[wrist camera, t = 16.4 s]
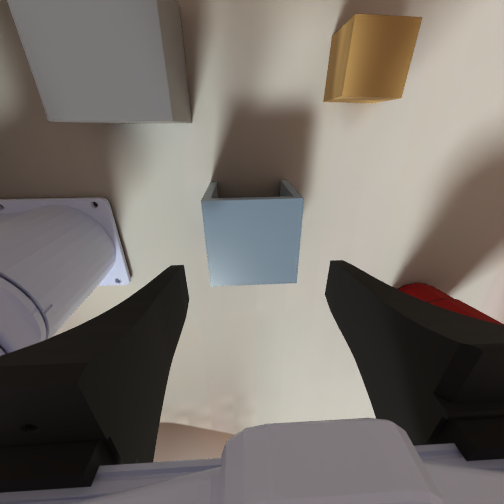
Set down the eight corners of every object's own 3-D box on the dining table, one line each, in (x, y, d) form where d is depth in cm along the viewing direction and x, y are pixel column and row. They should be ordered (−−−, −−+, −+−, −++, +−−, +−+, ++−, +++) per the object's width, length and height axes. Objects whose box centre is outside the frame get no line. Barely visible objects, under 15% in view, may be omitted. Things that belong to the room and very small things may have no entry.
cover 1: (104, 123, 17) (48, 121, 12) (74, 5, 14) (-14, -60, 9) (191, 122, 17) (173, 120, 12) (179, 7, 14) (148, -57, 9)
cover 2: (216, 250, 22) (210, 286, 17) (210, 182, 19) (201, 200, 14) (283, 248, 22) (296, 283, 17) (287, 180, 19) (303, 198, 14)
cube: (323, 101, 17) (342, 96, 14) (331, 36, 15) (355, 13, 12) (371, 103, 17) (401, 98, 14) (385, 39, 15) (422, 16, 12)
